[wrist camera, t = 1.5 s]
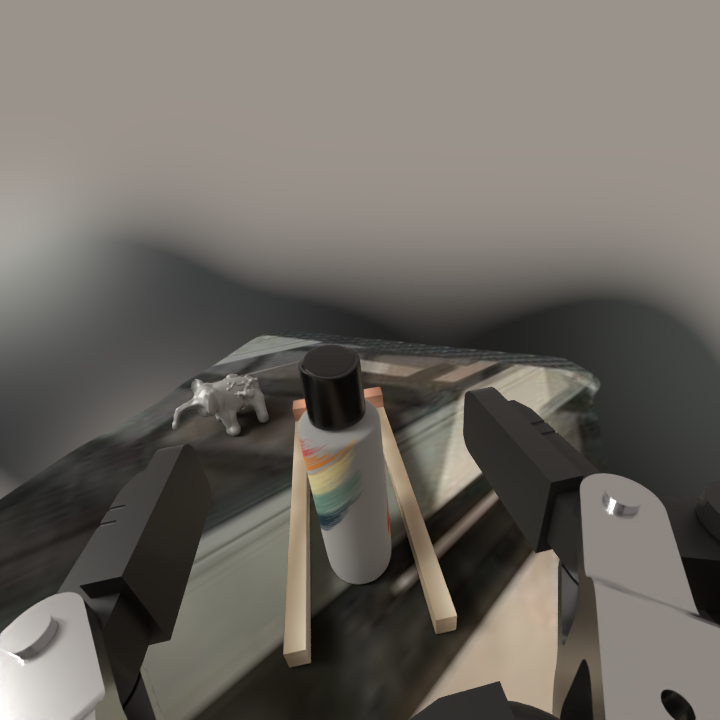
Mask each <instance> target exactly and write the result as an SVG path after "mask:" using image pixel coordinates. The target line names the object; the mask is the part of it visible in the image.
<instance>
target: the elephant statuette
mask: <svg viewBox="0 0 720 720" xmlns="http://www.w3.org/2000/svg"><path fill="white" fill-rule="evenodd" d="M257 379H258V378H255V379H254V378H253V377H250V376H248V375H246V376H244V377H238V375H236V374H235V375H234V374H230V375H228V376H227V377H226V378H224V380H223V381H220V382H216V383H203V382H202V381H201V380H198V379H196V380H194V381H193V382H192V391H193V393H194V397H193V399H191V400H190V401H188V402H187V403H185V404H183V405H182V406H180V407H178V408H177V409H176V411H175V414H174V422H173V423H172V427H173V429H174V430H177V429H178V428H179V418H180V416H181V414H182V413H183V412H184V411H187V410H191V409H197V410H198V411H199V413H200V415H201V416H203V417H208V416H213V415H216V419H217V420H218V421H222V422H223V424H224V425H225V426H226V428H227V429H226V431H227V433H228V434H229V435H232V436H236V435H238V434H239V433H240V431H241V428H240V425H239V424H238V421H237V417H236V413H237V412H240V410H241V409H242V410H244V409H245V408H247V407H248V408H253V409H254V410H255V411H256V414H257V418H258V420H259V421H260V422H261V423H265V422H267V421H268V419H269V416H268V412H267V409H266V405H265V401H264V395H263V394H262V392H261V390H260V387H259V385H258V384H259V383H258V382H257Z"/></svg>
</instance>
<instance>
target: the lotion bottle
mask: <svg viewBox="0 0 720 720" xmlns="http://www.w3.org/2000/svg"><path fill="white" fill-rule="evenodd" d="M298 369H299V374H300V379H301V384H302V389H303V394H304V399H305V404H306V409H307V410H306V411H305V412H304V413H303V415H302V416H301V418H300V420H299V423H298V435H299V440H300V445H301V449H302V453H303V457H304V461H305V465H306V470H307V474H308V478H309V482H310V486H311V490H312V494H313V498H314V502H315V506H316V511H317V515H318V519H319V523H320V527H321V531H322V535H323V539H324V543H325V547H326V551H327V555H328V559H329V562H330V564H331V567H332V569H333V570H334V572H335V573H336V574H337V576H338V577H340V578H341V579H342V580H344V581H346V582H348V583H351V584H366V583H369V582H371V581H374V580H375V579H377V578H378V577H379V576H380V575H382V573H383V572H384V571H385V570H386V568H387V566H388V564H389V561H390V558H391V533H390V521H389V510H388V499H387V488H386V476H385V465H384V454H383V443H382V432H381V423H380V416H379V413H378V411H377V409H376V408H375V406H374V405H372V404H371V403H370V402H368V401H367V400H365V397H364V389H363V381H362V373H361V365H360V358H359V354H358V352H357V351H356V350H354V349H351V348H346V347H343V346H340V345H323V346H319V347H316V348H314V349H312V350H311V351H309V352H308V353H307V354H306V355H305V357H304V358H303V359H302V360H300V361H299V363H298Z"/></svg>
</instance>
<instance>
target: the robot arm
mask: <svg viewBox="0 0 720 720" xmlns="http://www.w3.org/2000/svg"><path fill="white" fill-rule="evenodd" d="M463 435H464V440H465V444H466V447H467V449H468V451H469V453H470V454H471V456H472V457H473V459H474V461H475V462H476V464H477V465H478V467H479V468H480V470H481V471H482V473H483V474H484V476H485V477H486V479H487V480H488V482H489V483H490V485H491V486H492V488H493V489H494V491H495V492H496V494H497V495H498V497H499V498H500V500H501V501H502V503H503V504H504V506H505V507H506V509H507V510H508V512H509V513H510V515H511V516H512V518H513V519H514V521H515V522H516V524H517V526H518V527H519V529H520V530H521V532H522V533H523V535H524V536H525V538H526V539H527V541H528V542H529V544H530V545H531V547H532V548H533V550H534V551H535V553H539V552H543V551H547V550H551V549H553V550H554V552H555V553H556V555H557V556H558V557H559V559H560V561H559V566H558V652H557V664H556V671H555V678H554V689H553V715H552V714H550V713H547V712H545V711H543V710H540V709H538V708H535V707H533V706H530V705H526V704H522V703H518V702H513V701H508V700H507V698H506V696H505V693H504V691H503V688H502V686H501V683H500V681H499V682H495V683H491V684H488V685H484V686H481V687H477V688H473V689H470V690H466V691H463V692H459V693H455V694H452V695H448V696H445V697H441V698H439V699H437V700H436V701H434V702H433V703H432V704H430V705H429V706H428V707H426V708H425V709H424V710H422V711H421V712H419V713H418V714H417V715H415V716H414V717H413V718H411V719H410V720H720V481H715V482H712V483H710V484H709V485H708V486H707V487H706V489H705V491H704V493H703V495H702V496H701V498H700V499H697V498H681V497H667V496H655V495H654V494H653V493H652V492H650V491H649V490H648V489H646V488H645V487H643V486H642V485H640V484H638V483H636V482H634V481H632V480H630V479H627V478H625V477H621V476H618V475H613V474H604V473H601V472H600V471H599V470H598V469H597V468H595V467H594V466H593V465H592V464H591V463H590V462H589V461H588V460H587V459H586V458H585V457H583V456H582V455H581V454H580V453H579V452H578V451H577V450H576V449H575V448H574V447H572V446H571V445H570V444H569V443H568V442H567V441H566V440H565V439H564V438H563V437H562V436H560V435H559V434H558V433H555V430H554V429H553V428H552V427H551V426H550V425H548V424H547V423H545V422H544V420H543V419H542V418H541V417H540V416H539V415H538V414H536V413H535V412H534V411H533V410H532V409H531V408H529V407H527V406H525V405H523V404H521V403H519V402H517V401H515V400H511V401H507V400H506V399H505V398H504V397H503V396H502V395H501V394H500V393H499V392H498V391H497V390H496V389H495V388H493V387H488V388H483V389H478V390H472V391H468V392H466V394H465V401H464V426H463ZM210 503H211V489H210V484H209V482H208V479H207V477H206V475H205V473H204V470H203V468H202V466H201V464H200V462H199V459H198V457H197V455H196V453H195V451H194V449H193V447H192V446H191V445H190V444H185V445H179V446H174V447H169V448H164V449H159V450H157V451H156V453H155V454H154V456H153V458H152V459H151V461H150V463H149V464H148V466H147V468H146V470H145V471H143V472H139V473H138V474H137V475H136V476H135V477H134V478H133V479H131V480H130V481H129V482H128V483H127V484H126V485H125V486H124V487H123V488H122V489H121V491H120V492H119V494H118V495H117V497H116V499H115V500H114V502H113V503H112V505H111V507H110V511H108V512H107V513H106V515H105V516H104V518H103V520H102V521H101V523H100V524H101V526H100V527H98V528H97V529H96V531H95V533H94V534H93V536H92V537H91V539H90V541H89V542H88V544H87V546H86V547H85V549H84V550H83V552H82V554H81V555H80V557H79V559H78V560H77V562H76V563H75V565H74V567H73V568H72V570H71V572H70V573H69V575H68V576H67V578H66V580H65V581H64V583H63V584H62V586H61V588H60V589H59V591H58V592H57V594H56V595H54V596H51V597H49V598H47V599H45V600H43V601H41V602H39V603H37V604H36V605H34V606H32V607H31V608H30V609H28V610H27V611H25V612H24V613H23V614H21V615H20V616H19V617H18V618H17V619H15V620H14V621H13V622H12V623H11V624H10V625H9V626H8V627H7V628H6V629H5V630H4V631H3V632H2V633H1V634H0V720H163V717H162V714H161V711H160V709H159V706H158V703H157V700H156V697H155V694H154V691H153V688H152V685H151V682H150V680H149V677H148V674H147V671H146V669H145V667H144V666H143V664H142V663H143V660H144V657H145V654H146V651H147V648H148V645H152V644H156V643H160V642H164V641H168V640H170V639H171V636H172V632H173V629H174V626H175V622H176V619H177V615H178V612H179V609H180V605H181V602H182V599H183V595H184V592H185V588H186V585H187V582H188V578H189V575H190V572H191V568H192V565H193V561H194V558H195V555H196V551H197V548H198V545H199V541H200V538H201V534H202V531H203V528H204V524H205V521H206V518H207V514H208V511H209V507H210Z"/></svg>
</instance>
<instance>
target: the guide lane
mask: <svg viewBox="0 0 720 720" xmlns="http://www.w3.org/2000/svg"><path fill="white" fill-rule="evenodd" d="M364 397H365V400H367V401H368V402H370V403H371V404H372V405H374V406H375V408H376V409H377V411H378V413H379V416H380V423H381V432H382V443H383V454H384V457H385V460H386V464H387V467H388V471H389V474H390V478H391V481H392V485H393V488H394V492H395V495H396V498H397V502H398V505H399V509H400V512H401V516H402V519H403V523H404V526H405V529H406V533H407V536H408V540H409V543H410V547H411V550H412V554H413V557H414V561H415V564H416V567H417V571H418V574H419V578H420V581H421V585H422V588H423V592H424V595H425V598H426V602H427V605H428V609H429V612H430V616H431V619H432V623H433V626H434V629H435V633H436V634H440V633H444V632H449V631H453V630H456V623H457V614H456V611H455V608H454V605H453V603H452V600H451V597H450V594H449V591H448V588H447V586H446V583H445V580H444V577H443V574H442V571H441V569H440V566H439V563H438V560H437V557H436V554H435V552H434V549H433V546H432V543H431V540H430V537H429V535H428V532H427V529H426V526H425V523H424V520H423V518H422V515H421V512H420V509H419V506H418V503H417V501H416V498H415V495H414V492H413V489H412V486H411V484H410V481H409V478H408V475H407V472H406V469H405V466H404V464H403V461H402V458H401V455H400V452H399V449H398V447H397V444H396V441H395V438H394V435H393V432H392V430H391V427H390V424H389V421H388V418H387V415H386V413H385V410H384V407H383V395H382V392H381V389H380V387H375V388H369V389H364ZM306 410H307V409H306V404H305V399H302V400H296V401H293V413H294V418H295V441H294V460H293V479H292V498H291V517H290V536H289V556H288V575H287V594H286V613H285V632H284V651H283V655H284V657H285V659H286V661H287V664H288V666H289V668H290V667H295V666H299V665H303V664H308V663H311V599H310V482H309V478H308V474H307V470H306V465H305V461H304V457H303V453H302V449H301V445H300V440H299V435H298V423H299V420H300V418H301V416H302V415H303V413H304V412H305V411H306Z"/></svg>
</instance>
